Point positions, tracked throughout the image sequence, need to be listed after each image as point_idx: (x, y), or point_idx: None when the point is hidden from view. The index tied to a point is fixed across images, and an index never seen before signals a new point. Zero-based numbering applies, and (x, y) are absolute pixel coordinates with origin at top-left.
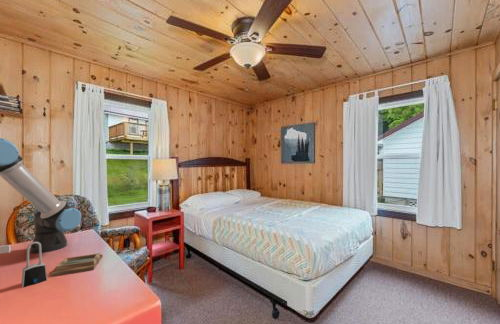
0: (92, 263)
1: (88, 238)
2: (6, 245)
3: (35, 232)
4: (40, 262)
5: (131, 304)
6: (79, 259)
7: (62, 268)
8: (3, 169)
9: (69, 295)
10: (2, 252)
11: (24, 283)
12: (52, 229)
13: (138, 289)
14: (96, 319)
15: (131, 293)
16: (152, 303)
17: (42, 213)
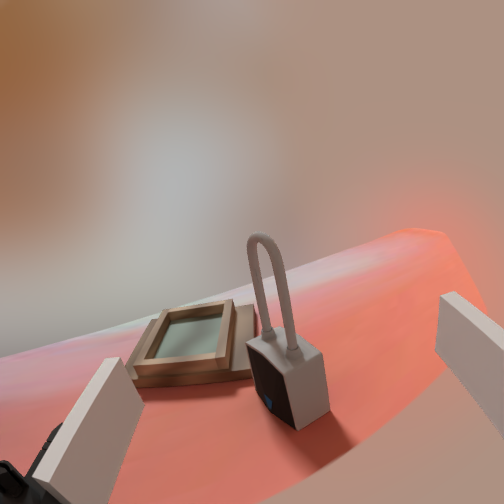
0: (234, 306)
1: None
2: (104, 371)
3: None
4: (271, 327)
5: (416, 235)
6: (157, 346)
7: (229, 352)
8: None
9: (397, 288)
10: (128, 431)
11: (326, 396)
12: None
13: (378, 241)
14: (451, 243)
15: (389, 242)
16: (411, 228)
17: None
